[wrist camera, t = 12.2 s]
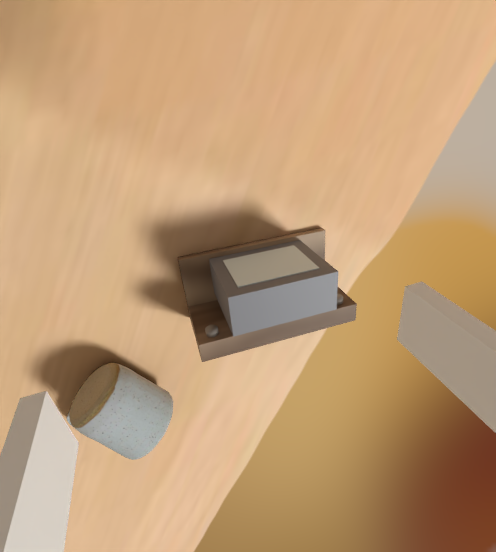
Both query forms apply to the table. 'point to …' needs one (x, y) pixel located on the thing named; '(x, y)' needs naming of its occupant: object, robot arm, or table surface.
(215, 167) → the table surface
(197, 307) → the wall rail
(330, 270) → the grey box
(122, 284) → the table surface
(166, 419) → the ceramic mug
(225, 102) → the table surface
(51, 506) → the robot arm
